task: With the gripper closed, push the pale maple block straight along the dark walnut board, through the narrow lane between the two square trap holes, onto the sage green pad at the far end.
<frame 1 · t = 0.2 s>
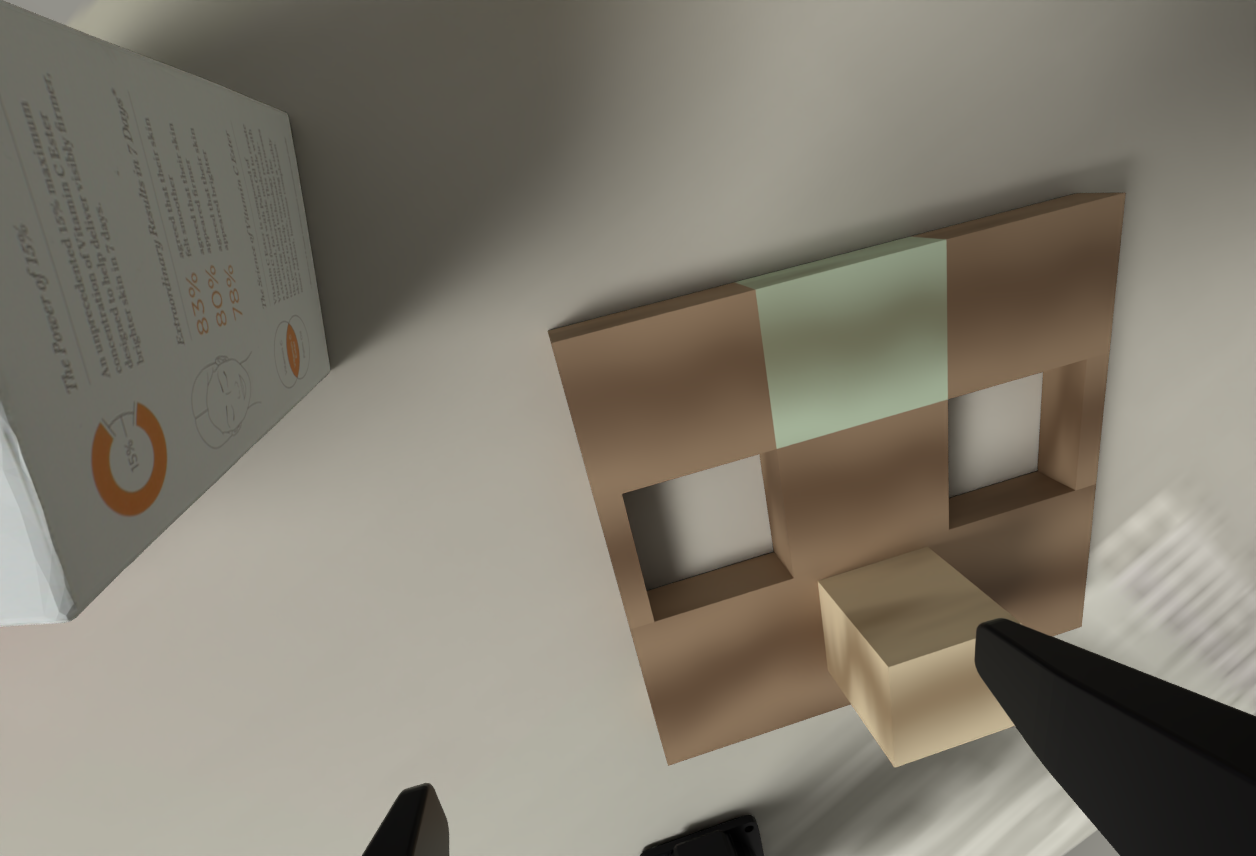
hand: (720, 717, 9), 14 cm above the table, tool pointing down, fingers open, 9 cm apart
maple block: (876, 610, 26), point 2 cm above the table, touching trap board
small box: (206, 251, 18), on the table
trap board: (843, 491, 26), on the table
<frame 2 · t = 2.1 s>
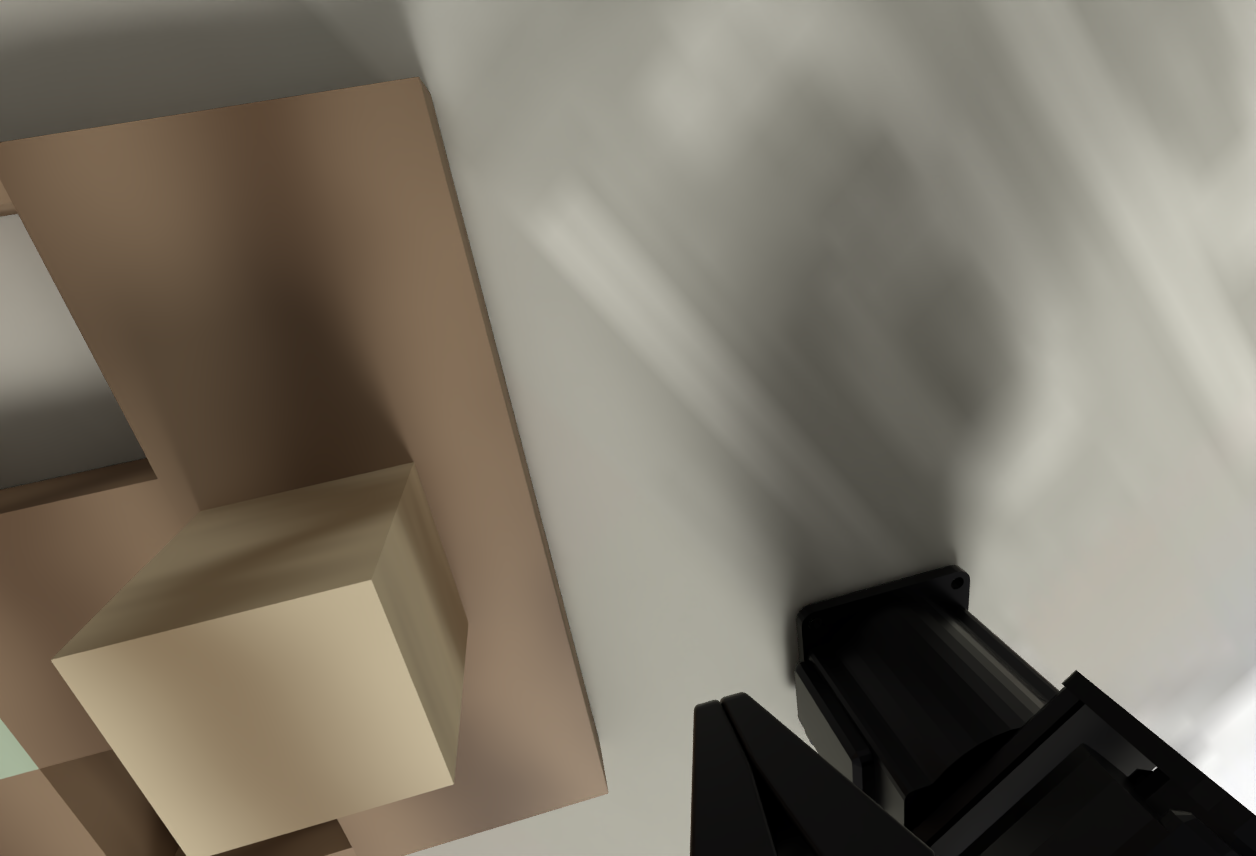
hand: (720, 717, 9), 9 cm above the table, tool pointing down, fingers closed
maple block: (345, 571, 15), point 2 cm above the table, touching trap board
trap board: (178, 576, 17), on the table
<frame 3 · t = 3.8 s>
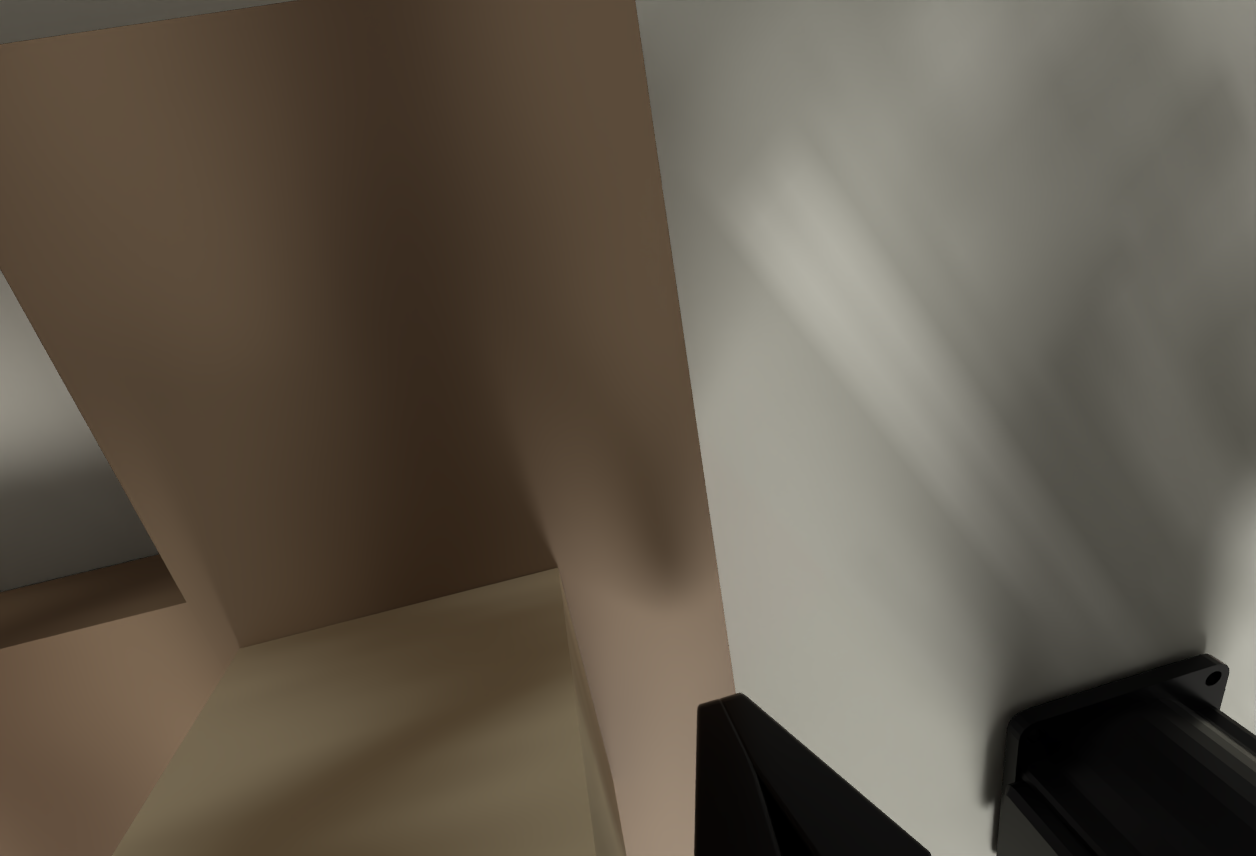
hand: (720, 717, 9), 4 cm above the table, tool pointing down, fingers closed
maple block: (447, 722, 10), point 2 cm above the table, touching gripper
trap board: (210, 710, 12), on the table
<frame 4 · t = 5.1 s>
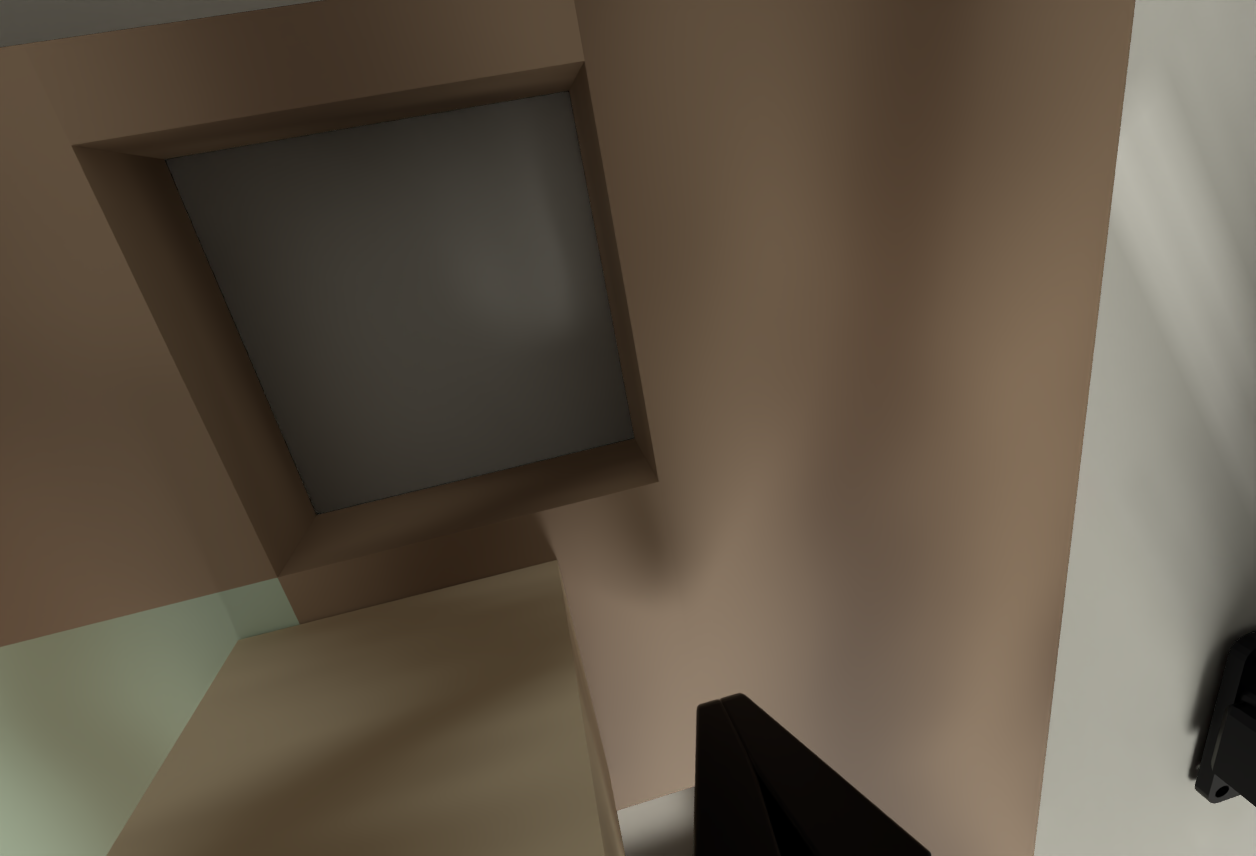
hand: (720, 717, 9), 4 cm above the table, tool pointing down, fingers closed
maple block: (445, 714, 10), point 2 cm above the table, touching gripper, trap board
trap board: (571, 610, 13), on the table
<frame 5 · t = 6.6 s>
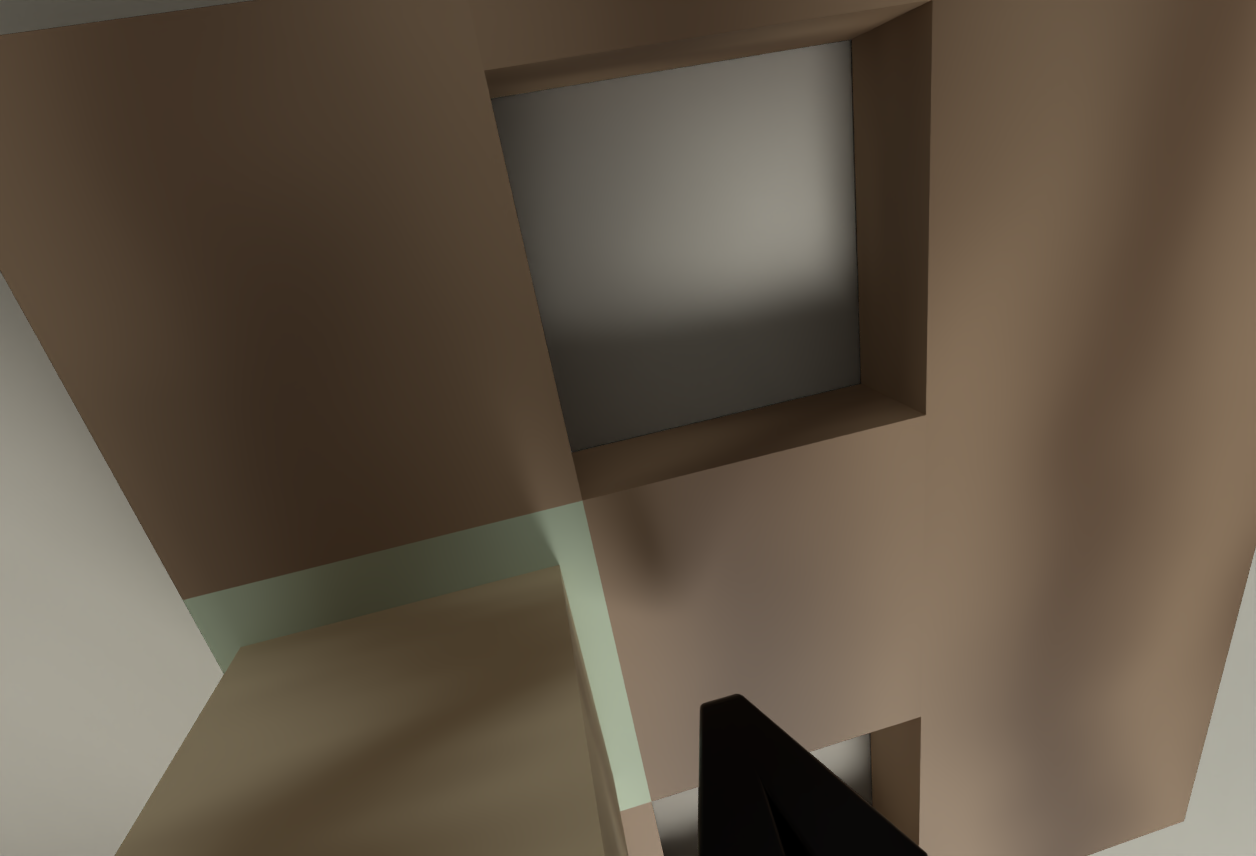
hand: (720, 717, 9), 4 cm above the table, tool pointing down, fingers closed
maple block: (448, 720, 10), point 2 cm above the table, touching gripper, trap board
trap board: (781, 553, 13), on the table
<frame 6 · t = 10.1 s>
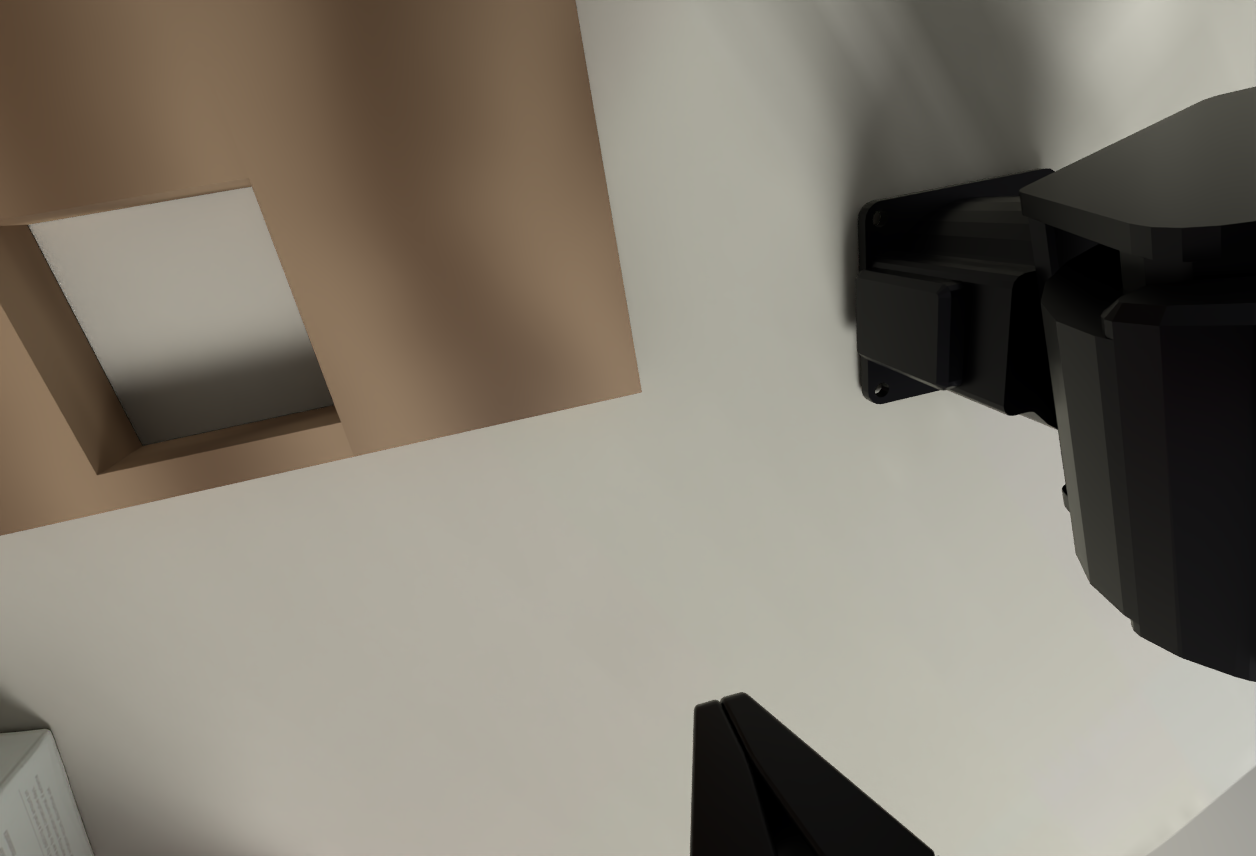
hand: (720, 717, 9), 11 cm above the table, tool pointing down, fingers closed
trap board: (132, 34, 14), on the table
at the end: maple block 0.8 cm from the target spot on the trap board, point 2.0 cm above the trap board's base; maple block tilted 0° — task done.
